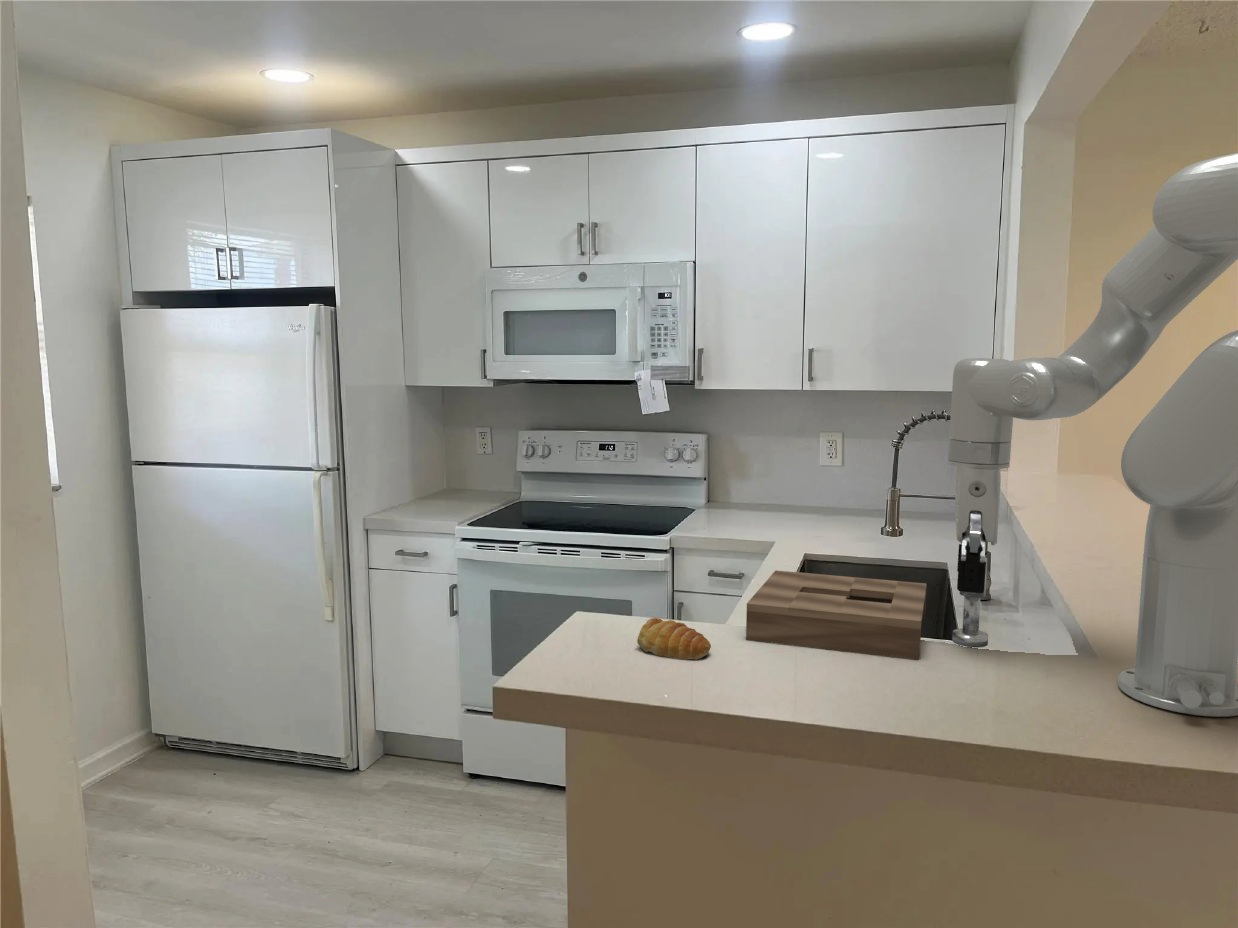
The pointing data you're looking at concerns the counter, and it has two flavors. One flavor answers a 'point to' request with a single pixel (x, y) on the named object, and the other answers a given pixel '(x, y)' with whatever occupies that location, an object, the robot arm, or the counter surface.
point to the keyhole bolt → (971, 621)
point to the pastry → (672, 640)
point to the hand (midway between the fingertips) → (969, 582)
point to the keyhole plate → (839, 614)
